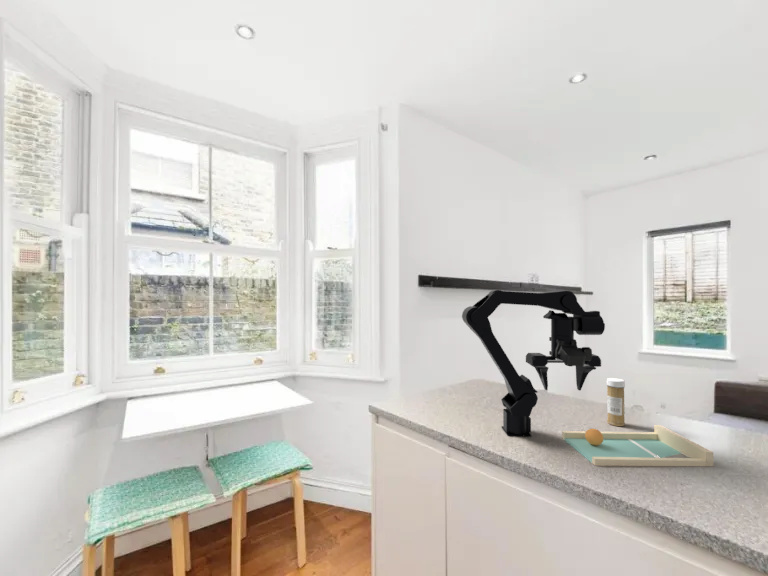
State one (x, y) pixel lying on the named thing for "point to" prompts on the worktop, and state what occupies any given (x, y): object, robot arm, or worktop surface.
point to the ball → (594, 436)
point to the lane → (640, 448)
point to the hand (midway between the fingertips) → (562, 389)
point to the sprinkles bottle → (615, 401)
